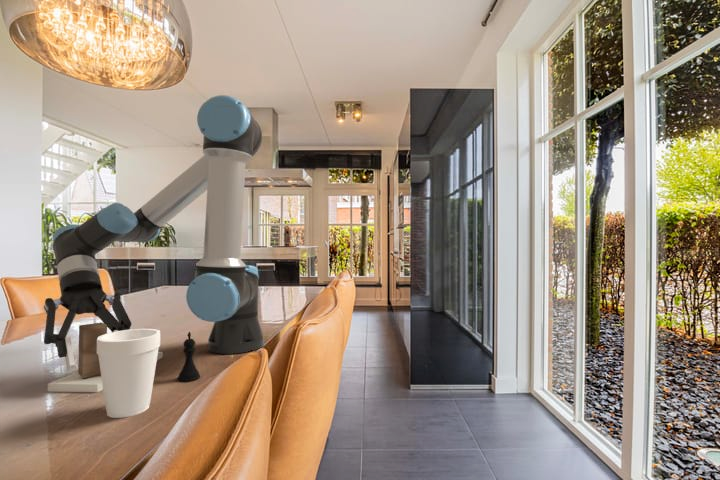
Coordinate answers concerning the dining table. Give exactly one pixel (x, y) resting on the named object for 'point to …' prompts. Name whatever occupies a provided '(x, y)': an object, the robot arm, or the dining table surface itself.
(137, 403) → the foam cup
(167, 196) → the robot arm
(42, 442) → the dining table surface
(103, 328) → the stub
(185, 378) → the chess piece
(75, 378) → the white perforated board
